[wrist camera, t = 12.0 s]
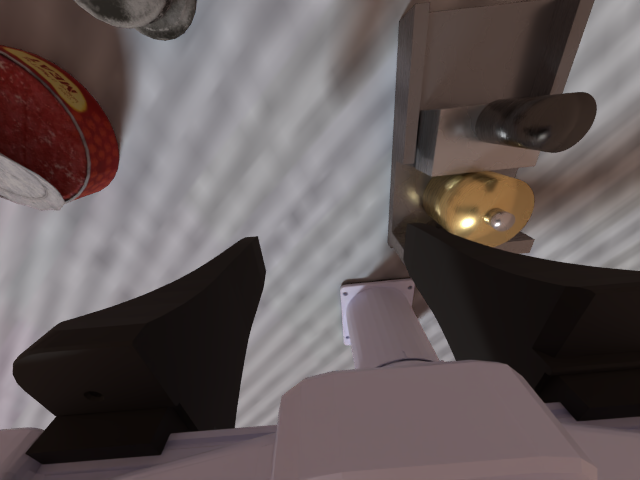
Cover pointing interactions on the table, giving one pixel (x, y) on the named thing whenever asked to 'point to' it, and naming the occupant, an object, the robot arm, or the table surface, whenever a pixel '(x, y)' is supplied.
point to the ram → (501, 132)
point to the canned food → (50, 134)
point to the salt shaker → (144, 15)
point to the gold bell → (479, 205)
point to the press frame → (473, 80)
